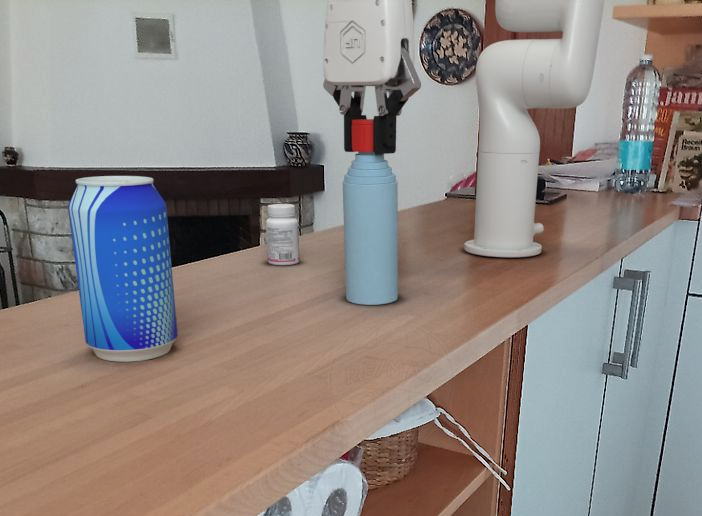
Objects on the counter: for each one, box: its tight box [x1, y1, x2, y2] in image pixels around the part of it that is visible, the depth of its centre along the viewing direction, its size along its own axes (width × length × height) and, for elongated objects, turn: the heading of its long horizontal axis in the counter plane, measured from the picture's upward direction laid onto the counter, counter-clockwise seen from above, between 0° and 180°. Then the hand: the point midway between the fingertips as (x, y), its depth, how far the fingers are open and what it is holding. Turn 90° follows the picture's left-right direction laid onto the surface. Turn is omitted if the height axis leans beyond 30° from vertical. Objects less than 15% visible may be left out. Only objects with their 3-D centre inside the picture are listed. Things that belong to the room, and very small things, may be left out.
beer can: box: [67, 175, 179, 363], centre depth 72 cm, size 8×8×16 cm
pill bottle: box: [265, 203, 301, 266], centre depth 115 cm, size 5×5×8 cm
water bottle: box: [342, 152, 399, 306], centre depth 92 cm, size 6×6×20 cm
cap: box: [352, 118, 374, 153], centre depth 89 cm, size 4×4×3 cm
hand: (369, 150), depth 89 cm, fingers closed on cap, 3 cm apart
